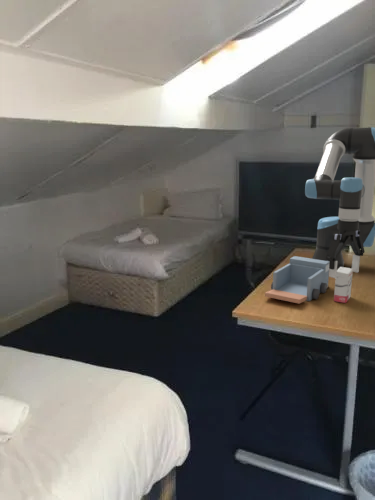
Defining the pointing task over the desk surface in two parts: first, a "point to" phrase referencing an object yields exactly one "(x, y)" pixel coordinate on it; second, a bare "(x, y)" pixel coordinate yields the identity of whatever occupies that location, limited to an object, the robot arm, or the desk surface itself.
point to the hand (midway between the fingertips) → (343, 274)
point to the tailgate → (286, 296)
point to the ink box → (343, 284)
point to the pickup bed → (302, 277)
